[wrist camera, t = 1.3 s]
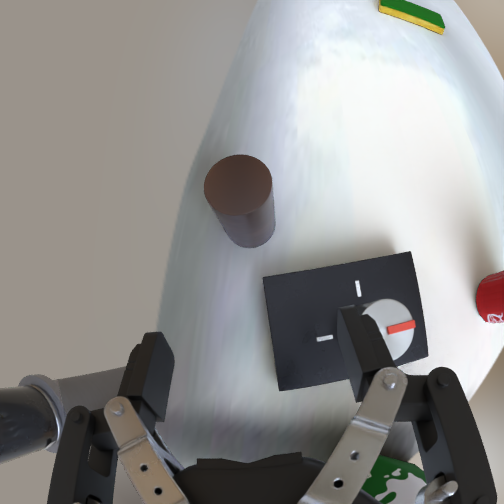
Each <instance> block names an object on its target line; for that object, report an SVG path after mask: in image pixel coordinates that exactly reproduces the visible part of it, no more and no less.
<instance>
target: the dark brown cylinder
mask: <svg viewBox="0 0 504 504" xmlns="http://www.w3.org/2000/svg"><path fill="white" fill-rule="evenodd" d="M204 193H205V197H206V199H207V201H208V203H209V204H210V206H211V208H212V209H213V211H214V213H215V214H216V216H217V218H218V219H219V221H220V223H221V224H222V226H223V228H224V229H225V231H226V233H227V234H228V236H229V237H230V239H231V240H232V241H233V242H234V243H235V244H237V245H239V246H241V247H246V248H254V247H258V246H261V245H262V244H264V243H266V242H267V241H268V240H269V239H270V238H271V236H272V235H273V232H274V230H275V211H274V198H273V185H272V177H271V174H270V171H269V169H268V168H267V167H266V165H265V164H264V163H263V162H261V161H260V160H258V159H257V158H255V157H252V156H248V155H233V156H229V157H226V158H224V159H222V160H220V161H219V162H217V163H216V164H215V165H214V166H213V167H212V168H211V169H210V171H209V172H208V174H207V176H206V178H205V182H204Z"/></svg>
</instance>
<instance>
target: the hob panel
mask: <svg viewBox="0 0 504 504" xmlns="http://www.w3.org/2000/svg"><path fill="white" fill-rule="evenodd" d="M263 285H264V291H265V298H266V305H267V311H268V318H269V325H270V332H271V339H272V345H273V352H274V359H275V366H276V373H277V380H278V387H279V391H286V390H293V389H299V388H305V387H311V386H316V385H321V384H327V383H332V382H336V381H341V380H346V379H349V376H348V373H347V369H346V366H345V362H344V359H343V356H342V353H341V349H340V346H339V343H338V338H337V313H338V308H339V307H344V306H349V305H355V306H358V305H362V304H366V303H370V302H373V301H377V300H381V299H393V300H396V301H398V302H400V303H402V304H403V305H404V306H405V307H406V308H407V309H408V310H409V312H410V314H411V316H412V319H413V320H415V326H416V327H415V328H414V334H413V339H412V341H411V344H410V346H409V347H408V349H407V350H406V351H405V353H404V354H403V355H401V356H400V357H399V358H397V359H395V360H393V361H394V363H395V365H396V366H400V365H403V364H406V363H409V362H413V361H416V360H419V359H422V358H425V357H428V346H427V338H426V330H425V323H424V316H423V310H422V303H421V298H420V292H419V287H418V282H417V277H416V272H415V267H414V263H413V259H412V254H411V251H409V252H404V253H399V254H393V255H388V256H383V257H377V258H372V259H367V260H361V261H356V262H350V263H345V264H339V265H333V266H328V267H322V268H316V269H310V270H304V271H298V272H292V273H286V274H280V275H274V276H268V277H263Z"/></svg>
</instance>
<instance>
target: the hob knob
mask: <svg viewBox="0 0 504 504" xmlns="http://www.w3.org/2000/svg"><path fill="white" fill-rule="evenodd" d="M356 308H357V310H358V313H359V315H364V314H368V315H369V316H371V317H372V318H373V319H374V320H375V321H376V323H377V325H378V327H379V329H380V332H381V334H382V336H383V339H384V340H385V343H386V345H387V347H388V349H389V352H390V354H391V356H392V359H393V360H395V359H397V358H399V357H400V356H401V355H403V354H404V353H405V351H406V350H407V349H408V347H409V346H410V344H411V341H412V339H413V334H414V328H415V327H416V326H415V320H413V319H412V316H411V314H410V312H409V310H408V309H407V308H406V307H405V306H404V305H403V304H402V303H400V302H398V301H396V300H393V299H381V300H377V301H373V302H370V303H366V304H362V305H358V306H356Z"/></svg>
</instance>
